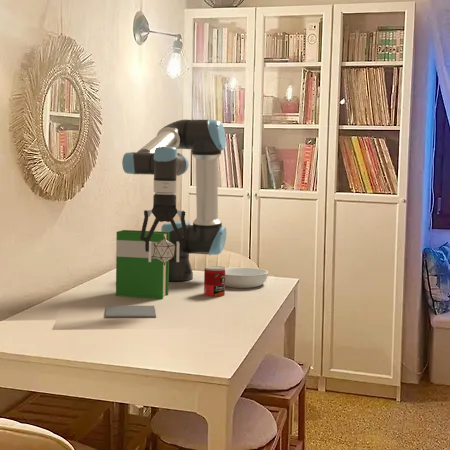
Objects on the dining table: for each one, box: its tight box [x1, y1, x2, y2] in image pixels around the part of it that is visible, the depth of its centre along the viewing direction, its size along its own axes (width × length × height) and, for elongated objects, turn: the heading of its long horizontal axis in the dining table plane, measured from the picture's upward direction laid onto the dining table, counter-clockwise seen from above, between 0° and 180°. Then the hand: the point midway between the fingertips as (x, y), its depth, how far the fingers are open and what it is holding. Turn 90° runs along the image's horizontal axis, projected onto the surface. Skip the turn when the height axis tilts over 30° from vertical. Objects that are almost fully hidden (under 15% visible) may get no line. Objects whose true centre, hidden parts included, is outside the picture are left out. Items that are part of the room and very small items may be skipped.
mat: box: [104, 305, 157, 319], centre depth 234 cm, size 16×16×1 cm
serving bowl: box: [225, 266, 269, 289], centre depth 284 cm, size 21×21×7 cm
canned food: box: [203, 265, 226, 298], centre depth 264 cm, size 8×8×11 cm
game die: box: [151, 236, 177, 266], centre depth 237 cm, size 9×8×10 cm
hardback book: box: [115, 229, 169, 300], centre depth 260 cm, size 18×7×24 cm, turn 78°
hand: (163, 261), depth 237 cm, fingers closed on game die, 9 cm apart
